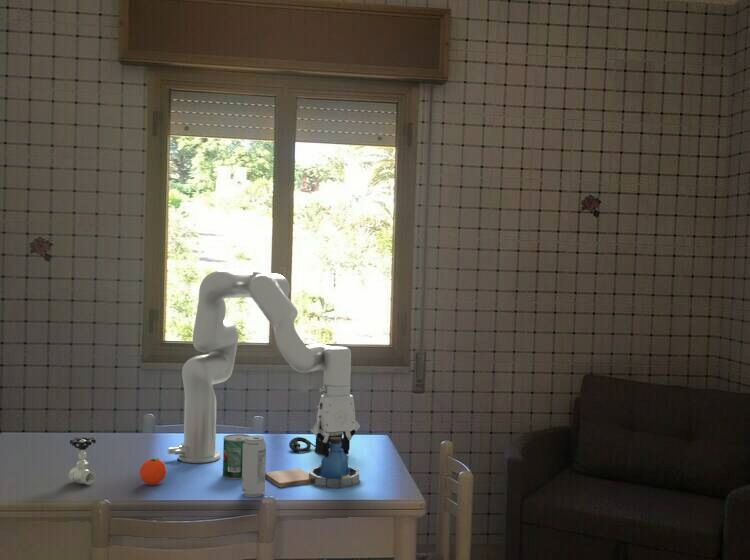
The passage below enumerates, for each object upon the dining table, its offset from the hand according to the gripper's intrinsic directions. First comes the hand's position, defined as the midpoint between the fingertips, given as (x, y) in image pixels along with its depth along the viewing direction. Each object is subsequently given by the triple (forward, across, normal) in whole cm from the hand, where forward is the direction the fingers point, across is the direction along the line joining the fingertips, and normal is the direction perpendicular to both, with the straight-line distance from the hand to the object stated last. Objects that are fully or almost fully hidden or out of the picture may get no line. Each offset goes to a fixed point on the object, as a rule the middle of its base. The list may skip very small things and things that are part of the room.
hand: (335, 453), depth 211 cm
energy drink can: (+8, -25, -2) cm, 26 cm away
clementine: (+8, -46, +18) cm, 50 cm away
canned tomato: (+8, -23, +16) cm, 29 cm away
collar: (+8, 0, 0) cm, 8 cm away
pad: (+8, -11, +6) cm, 15 cm away
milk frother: (+8, +10, +31) cm, 33 cm away
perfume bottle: (+8, 0, 0) cm, 8 cm away
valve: (+8, -63, +26) cm, 69 cm away
